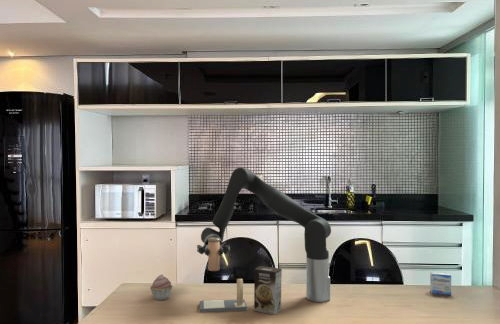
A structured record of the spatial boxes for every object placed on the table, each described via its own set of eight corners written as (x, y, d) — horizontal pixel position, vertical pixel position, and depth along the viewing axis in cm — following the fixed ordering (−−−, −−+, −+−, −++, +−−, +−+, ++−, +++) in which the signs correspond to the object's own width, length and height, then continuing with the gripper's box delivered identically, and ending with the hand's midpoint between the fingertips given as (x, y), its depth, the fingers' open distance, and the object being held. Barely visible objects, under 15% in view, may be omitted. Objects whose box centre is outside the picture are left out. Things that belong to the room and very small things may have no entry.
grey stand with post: (244, 302, 162) (244, 274, 162) (246, 310, 153) (246, 281, 153) (199, 304, 160) (199, 276, 160) (199, 312, 151) (199, 282, 151)
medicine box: (431, 293, 174) (431, 273, 174) (430, 290, 178) (430, 271, 178) (451, 295, 172) (451, 275, 172) (449, 292, 176) (449, 272, 176)
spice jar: (219, 267, 159) (219, 237, 159) (220, 270, 155) (220, 239, 155) (207, 268, 159) (207, 237, 159) (207, 271, 154) (208, 239, 154)
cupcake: (174, 300, 164) (174, 276, 164) (151, 303, 161) (151, 278, 161) (170, 293, 173) (170, 270, 173) (148, 296, 170) (148, 272, 170)
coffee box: (253, 311, 153) (253, 268, 153) (260, 305, 158) (260, 265, 158) (275, 315, 148) (275, 271, 148) (281, 309, 154) (282, 268, 154)
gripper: (196, 235, 170) (195, 243, 153) (229, 235, 172) (232, 243, 155) (196, 253, 170) (195, 263, 153) (229, 252, 172) (232, 262, 155)
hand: (214, 253), depth 154 cm, fingers closed on spice jar, 4 cm apart
